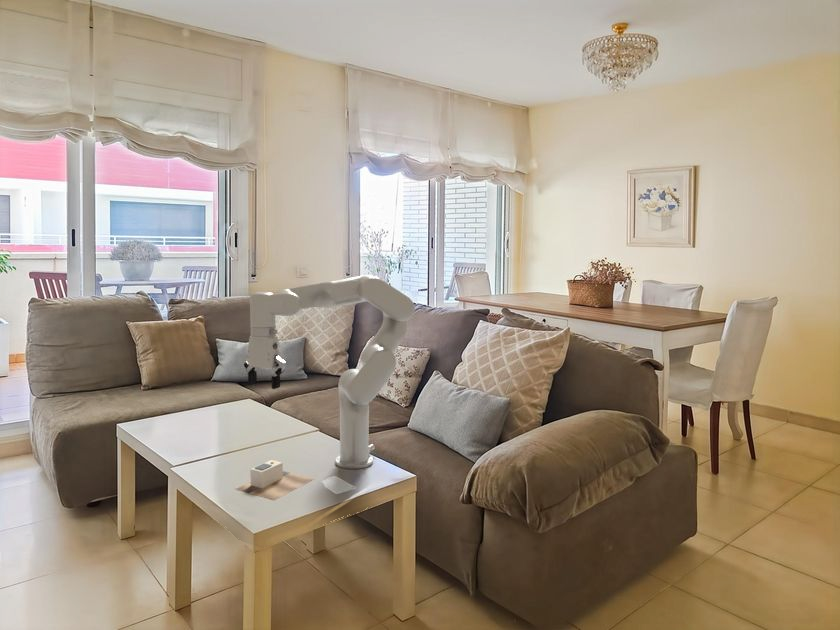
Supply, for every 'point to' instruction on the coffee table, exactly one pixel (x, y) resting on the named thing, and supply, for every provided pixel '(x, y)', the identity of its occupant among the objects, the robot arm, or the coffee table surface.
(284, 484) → the subfloor board
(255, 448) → the coffee table surface
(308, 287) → the robot arm
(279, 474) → the stud finder
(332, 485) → the hard drive
